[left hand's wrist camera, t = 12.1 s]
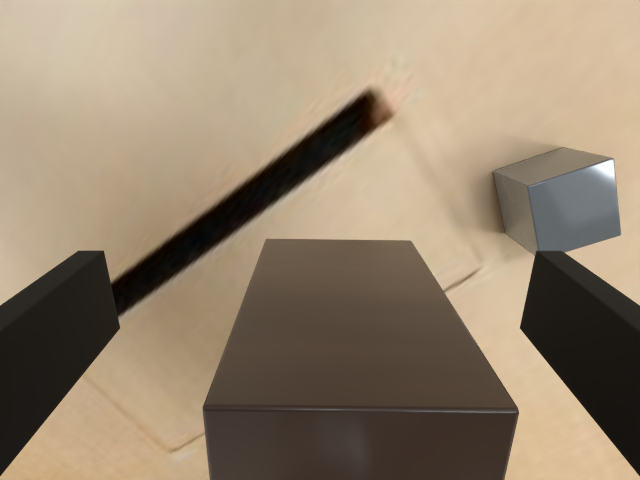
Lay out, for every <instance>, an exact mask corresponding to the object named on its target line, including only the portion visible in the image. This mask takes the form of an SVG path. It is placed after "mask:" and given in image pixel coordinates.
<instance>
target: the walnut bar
mask: <svg viewBox="0 0 640 480" xmlns="http://www.w3.org/2000/svg"><path fill="white" fill-rule="evenodd" d="M518 415H519V411H518V408H517V406H516V405H515V403H514V401H513V400H512V398H511V397H510V395H509V394H508V392H507V390H506V389H505V387H504V386H503V384H502V383H501V381H500V379H499V378H498V376H497V375H496V373H495V372H494V370H493V368H492V367H491V365H490V364H489V362H488V361H487V359H486V357H485V356H484V354H483V353H482V351H481V350H480V348H479V346H478V345H477V343H476V342H475V340H474V339H473V337H472V336H471V334H470V332H469V331H468V329H467V328H466V326H465V325H464V323H463V321H462V320H461V318H460V317H459V315H458V314H457V312H456V310H455V309H454V307H453V306H452V304H451V303H450V301H449V299H448V298H447V296H446V295H445V293H444V292H443V290H442V288H441V287H440V285H439V284H438V282H437V281H436V279H435V277H434V276H433V274H432V273H431V271H430V270H429V268H428V266H427V265H426V263H425V262H424V260H423V259H422V257H421V255H420V254H419V252H418V251H417V249H416V248H415V246H414V245H413V243H412V241H396V240H313V239H266V240H265V243H264V246H263V248H262V251H261V254H260V256H259V259H258V262H257V264H256V267H255V270H254V272H253V275H252V278H251V280H250V283H249V286H248V288H247V291H246V294H245V296H244V299H243V302H242V304H241V307H240V310H239V312H238V315H237V318H236V320H235V323H234V325H233V328H232V331H231V333H230V336H229V339H228V341H227V344H226V347H225V349H224V352H223V355H222V357H221V360H220V363H219V365H218V368H217V371H216V373H215V376H214V379H213V381H212V384H211V387H210V389H209V392H208V395H207V397H206V400H205V403H204V405H203V417H204V427H205V437H206V446H207V456H208V466H209V475H210V480H504V478H505V474H506V469H507V465H508V460H509V456H510V451H511V447H512V442H513V438H514V433H515V429H516V424H517V419H518Z"/></svg>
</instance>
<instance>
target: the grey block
mask: <svg viewBox="0 0 640 480" xmlns="http://www.w3.org/2000/svg"><path fill="white" fill-rule="evenodd" d="M493 175H494V179H495V184H496V189H497V194H498V199H499V204H500V209H501V214H502V219H503V224H504V229H505V234H506V235H508V236H509V237H510V238H512V239H513V240H514V241H516V242H517V243H518V244H520V245H521V246H522V247H524V248H525V249H526V250H528V251H529V252H530V253H532V254H533V255H534V256H535V254H536V251H563V252H568V251H571V250H574V249H577V248H581V247H584V246H587V245H590V244H594V243H597V242H600V241H603V240H607V239H610V238H613V237H616V236H620V235H621V228H620V218H619V208H618V197H617V187H616V177H615V167H614V159H613V158H611V157H606V156H602V155H597V154H593V153H588V152H584V151H579V150H575V149H570V148H565V147H563V148H560V149H557V150H554V151H551V152H548V153H545V154H542V155H539V156H536V157H533V158H530V159H527V160H524V161H521V162H518V163H515V164H512V165H509V166H506V167H503V168H500V169H497V170H494V171H493Z"/></svg>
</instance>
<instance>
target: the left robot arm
mask: <svg viewBox="0 0 640 480" xmlns="http://www.w3.org/2000/svg"><path fill="white" fill-rule="evenodd" d="M119 329H120V325H119V321H118V316H117V311H116V306H115V302H114V297H113V292H112V287H111V283H110V278H109V273H108V269H107V264H106V259H105V254H104V251H77V252H76V253H75V254H73V255H72V256H70V257H69V258H67V259H66V260H65V261H63V262H62V263H60V264H59V265H58V266H56V267H55V268H53V269H52V270H50V271H49V272H48V273H46V274H45V275H43V276H42V277H40V278H39V279H38V280H36V281H35V282H33V283H32V284H30V285H29V286H28V287H26V288H25V289H23V290H22V291H20V292H19V293H18V294H16V295H15V296H13V297H12V298H10V299H9V300H8V301H6V302H5V303H3V304H2V305H1V306H0V476H1V475H2V473H3V472H4V471H5V470H6V468H7V467H8V466H9V465H10V464H11V462H12V461H13V460H14V459H15V457H16V456H17V455H18V454H19V452H20V451H21V450H22V449H23V447H24V446H25V445H26V444H27V443H28V441H29V440H30V439H31V438H32V436H33V435H34V434H35V433H36V431H37V430H38V429H39V428H40V426H41V425H42V424H43V423H44V422H45V420H46V419H47V418H48V417H49V415H50V414H51V413H52V412H53V410H54V409H55V408H56V407H57V405H58V404H59V403H60V402H61V401H62V399H63V398H64V397H65V396H66V394H67V393H68V392H69V391H70V389H71V388H72V387H73V386H74V384H75V383H76V382H77V381H78V380H79V378H80V377H81V376H82V375H83V373H84V372H85V371H86V370H87V368H88V367H89V366H90V365H91V363H92V362H93V361H94V360H95V359H96V357H97V356H98V355H99V354H100V352H101V351H102V350H103V349H104V347H105V346H106V345H107V344H108V342H109V341H110V340H111V339H112V338H113V336H114V335H115V334H116V333H117V331H118V330H119ZM520 329H521V330H522V331H523V333H524V334H525V335H526V336H527V338H528V339H529V340H530V341H531V342H532V344H533V345H534V346H535V347H536V349H537V350H538V351H539V352H540V354H541V355H542V356H543V357H544V359H545V360H546V361H547V362H548V363H549V365H550V366H551V367H552V368H553V370H554V371H555V372H556V373H557V375H558V376H559V377H560V378H561V380H562V381H563V382H564V383H565V384H566V386H567V387H568V388H569V389H570V391H571V392H572V393H573V394H574V396H575V397H576V398H577V399H578V401H579V402H580V403H581V404H582V405H583V407H584V408H585V409H586V410H587V412H588V413H589V414H590V415H591V417H592V418H593V419H594V420H595V422H596V423H597V424H598V425H599V426H600V428H601V429H602V430H603V431H604V433H605V434H606V435H607V436H608V438H609V439H610V440H611V441H612V443H613V444H614V445H615V446H616V447H617V449H618V450H619V451H620V452H621V454H622V455H623V456H624V457H625V459H626V460H627V461H628V462H629V464H630V465H631V466H632V467H633V468H634V470H635V471H636V472H637V473H638V475H639V476H640V306H639V305H638V304H637V303H635V302H634V301H632V300H631V299H630V298H628V297H627V296H625V295H624V294H622V293H621V292H620V291H618V290H617V289H615V288H614V287H612V286H611V285H610V284H608V283H607V282H605V281H604V280H602V279H601V278H600V277H598V276H597V275H595V274H594V273H592V272H591V271H590V270H588V269H587V268H585V267H584V266H582V265H581V264H580V263H578V262H577V261H575V260H574V259H573V258H571V257H570V256H568V255H567V254H565V253H564V252H563V251H536V254H535V259H534V264H533V269H532V273H531V278H530V283H529V287H528V292H527V297H526V302H525V306H524V311H523V316H522V321H521V325H520Z"/></svg>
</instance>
